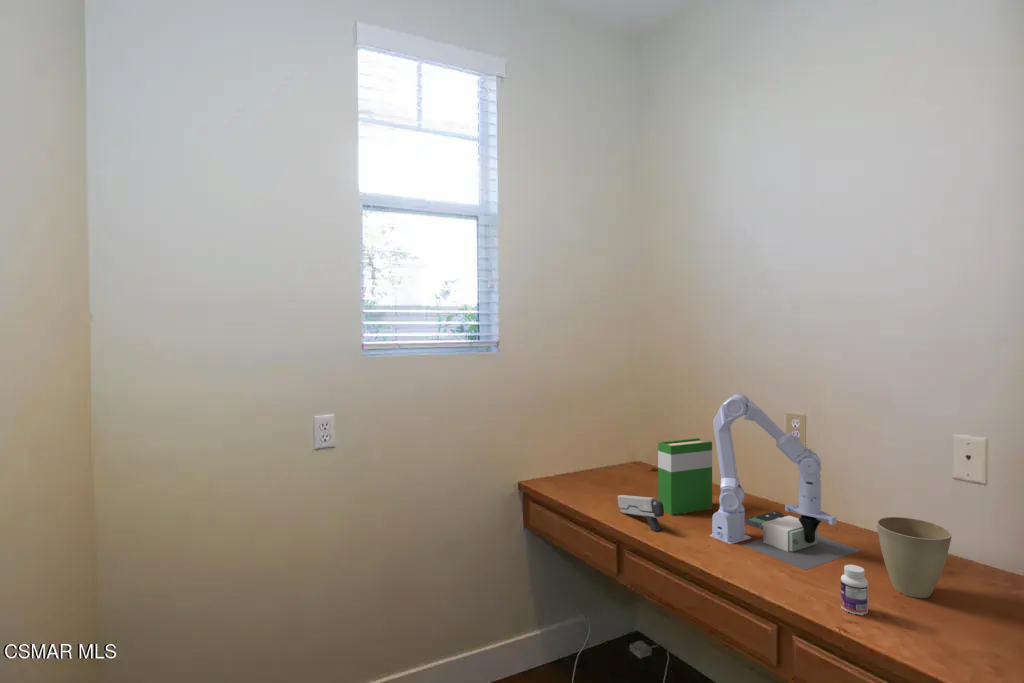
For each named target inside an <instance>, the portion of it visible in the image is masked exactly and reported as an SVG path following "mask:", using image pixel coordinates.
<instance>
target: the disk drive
mask: <svg viewBox="0 0 1024 683" xmlns="http://www.w3.org/2000/svg"><path fill="white" fill-rule="evenodd" d="M785 516H790V515H789V514H783V513H782V512H779V511H777V510H775V511H770V512H767V513H763V514H758V515H755V516H750V517H747V518H746V519H745V522H746V523H745V525H749V526H751V527H754V528H757V529H759V530H762V531H763V522H767V521H771V520H774V519H778V518H782V517H785Z"/></svg>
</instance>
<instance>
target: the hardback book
mask: <svg viewBox="0 0 1024 683" xmlns="http://www.w3.org/2000/svg"><path fill="white" fill-rule="evenodd" d="M657 461H658V462H657V465H658V466H657V473H658V474H657V477H658V478H657V485H658V486H657V487H658V488H657V496H658V497H657V498H658V499H657V501H661V502H662V504H663V508H664V511H665V512H664V513H666V512H667V513H666V514H668V513H669V514H668V515H670V514H671V515H670V516H674V515H673V514H676V515H680V514H679V513H682V514H686V513H685V512H689V513H693V512H692V511H695V512H699V511H698V510H701V511H705V510H704V509H707V510H711V509H710V508H712V509H713V441H710V440H709V441H701V439H700V438H699V437H698V438H697V437H695V438H687V439H686V438H684V439H676V440H675V439H674V440H668V441H667V440H666V441H657Z"/></svg>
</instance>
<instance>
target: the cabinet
mask: <svg viewBox="0 0 1024 683" xmlns="http://www.w3.org/2000/svg"><path fill="white" fill-rule="evenodd" d="M801 528H803V526H802V524H801V523H800V521H799V517H795V516H792V515H789V516H785V517H782V518H778V519H774V520H771V521H767V522H763V530H762V532H763V533H762V534H763V538H762V539H763V542H764V543H767V544H769V545H772V546H774V547H777V548H780V549H782V550H785V551H789V532H790V531H794V530H797V529H801Z"/></svg>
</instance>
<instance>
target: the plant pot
mask: <svg viewBox="0 0 1024 683" xmlns="http://www.w3.org/2000/svg"><path fill="white" fill-rule="evenodd" d="M876 528H877V532H878V533H877V535H878V539H879V545H880V550H881V553H882V554H881V555H882V557H883V561H884V562H883V563H884V564H885V568H886V570H887V573H888V576H889V579H890V582H891V585H892V586H893V588H894V589H895V590H896V591H897V592H899V593H900V594H902V595H904V596H907V597H911V598H915V599H916V598H917V599H927V598H930V597H931V595H932V594H933V592H934V590H935V588H936V586H937V584H938V582H939V580H940V577H941V575H942V572H943V570H944V567H945V566H946V565H945V564H946V561H947V558H948V554H949V550H950V546H951V541H952V537H953V534H952V532H951V531H950V530H949V529H948V528H945V527H944V526H941V525H940V524H936V523H933V522H930V521H927V520H923V519H917V518H911V517H901V516H885V517H881V518H879V519H877V520H876Z"/></svg>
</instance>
